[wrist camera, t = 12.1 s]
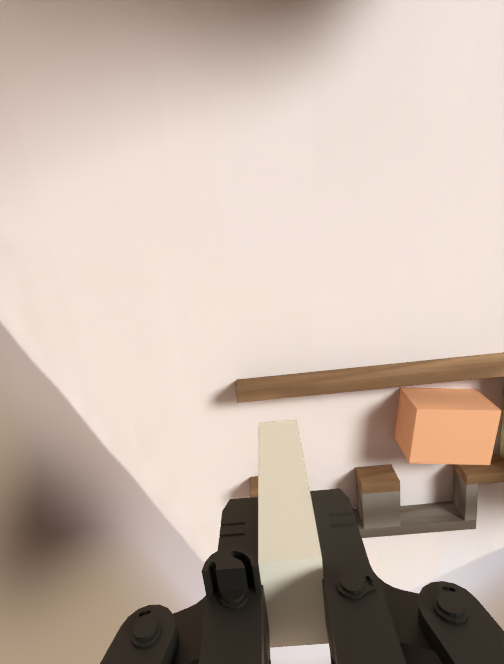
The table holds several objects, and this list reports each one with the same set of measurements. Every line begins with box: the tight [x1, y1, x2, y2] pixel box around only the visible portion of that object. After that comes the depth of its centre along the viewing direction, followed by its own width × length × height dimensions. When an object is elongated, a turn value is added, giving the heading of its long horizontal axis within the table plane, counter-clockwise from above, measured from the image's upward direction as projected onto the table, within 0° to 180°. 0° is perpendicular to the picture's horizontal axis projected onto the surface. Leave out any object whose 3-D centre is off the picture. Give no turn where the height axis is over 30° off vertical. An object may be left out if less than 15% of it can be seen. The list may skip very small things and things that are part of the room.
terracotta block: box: [394, 388, 501, 465], centre depth 43 cm, size 6×8×5 cm
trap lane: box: [236, 353, 504, 538], centre depth 44 cm, size 19×29×4 cm, turn 96°
